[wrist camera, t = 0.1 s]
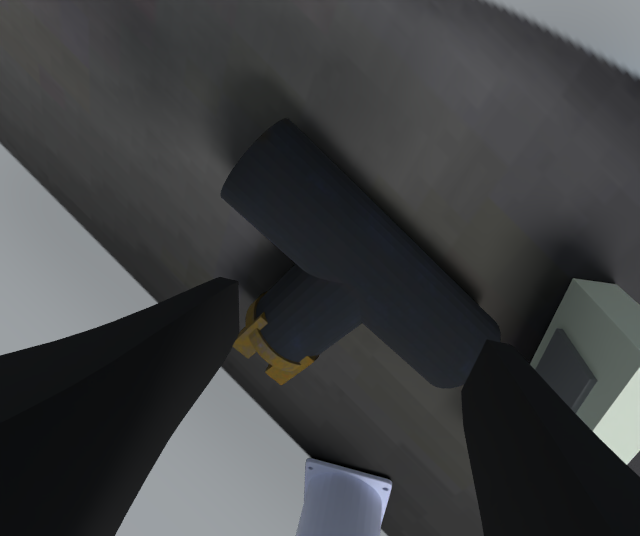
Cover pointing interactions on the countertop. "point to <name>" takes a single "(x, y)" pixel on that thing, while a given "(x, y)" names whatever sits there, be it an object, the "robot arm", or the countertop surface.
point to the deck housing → (596, 361)
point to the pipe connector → (344, 269)
